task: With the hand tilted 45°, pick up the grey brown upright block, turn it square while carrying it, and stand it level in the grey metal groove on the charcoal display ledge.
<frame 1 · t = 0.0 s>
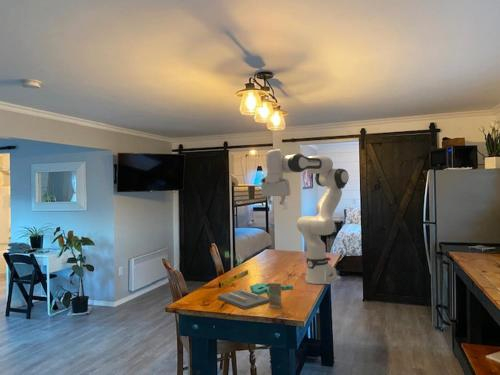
hand: (276, 204, 197), 48 cm above the table, tool pointing down, fingers open, 8 cm apart
spirit level: (234, 281, 225), on the table
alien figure: (268, 291, 201), on the table
grey brown upright block: (275, 305, 175), on the table
display ledge: (243, 300, 186), on the table
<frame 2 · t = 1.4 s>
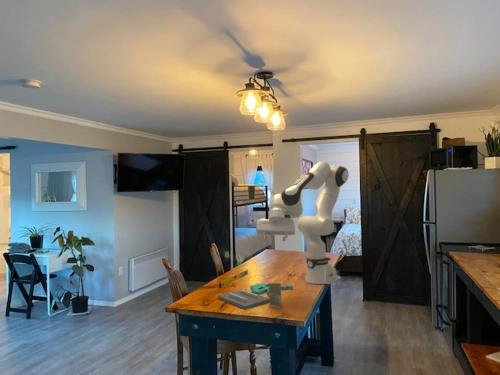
hand: (274, 240, 183), 30 cm above the table, tool tilted 45°, fingers open, 8 cm apart
nothing on the table moved.
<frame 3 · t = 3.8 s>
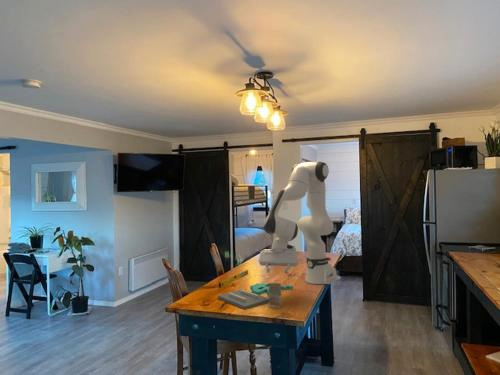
hand: (277, 272, 183), 14 cm above the table, tool tilted 45°, fingers open, 8 cm apart
nothing on the table moved.
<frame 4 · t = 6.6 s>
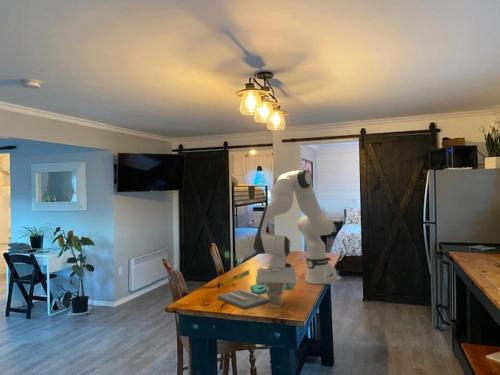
hand: (274, 292, 174), 6 cm above the table, tool tilted 45°, fingers closed on grey brown upright block, 5 cm apart
grey brown upright block: (275, 305, 175), on the table, touching gripper
everything else where it was.
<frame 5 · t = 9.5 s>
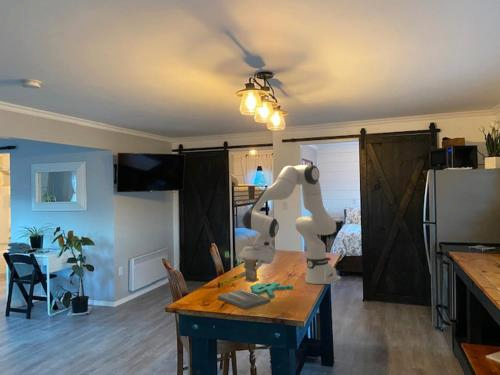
hand: (249, 268, 181), 17 cm above the table, tool tilted 45°, fingers closed on grey brown upright block, 5 cm apart
grey brown upright block: (251, 281, 182), point 11 cm above the table, touching gripper
everything else where it was.
when the fingers open (8 cm above the table, at t = 12.8 s): grey brown upright block stays where it is, resting on display ledge.
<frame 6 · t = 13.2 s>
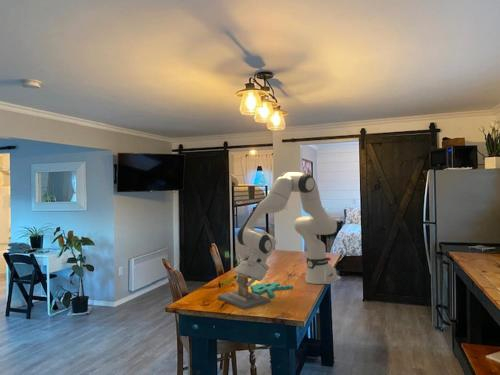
hand: (241, 284, 185), 8 cm above the table, tool tilted 45°, fingers open, 8 cm apart
grey brown upright block: (243, 297, 186), point 1 cm above the table, touching display ledge
everything else where it was.
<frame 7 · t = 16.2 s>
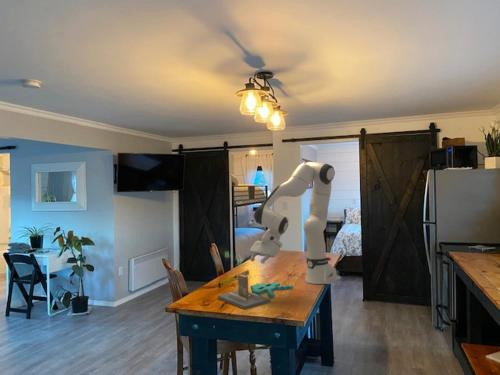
hand: (256, 261, 191), 18 cm above the table, tool tilted 45°, fingers open, 8 cm apart
nothing on the table moved.
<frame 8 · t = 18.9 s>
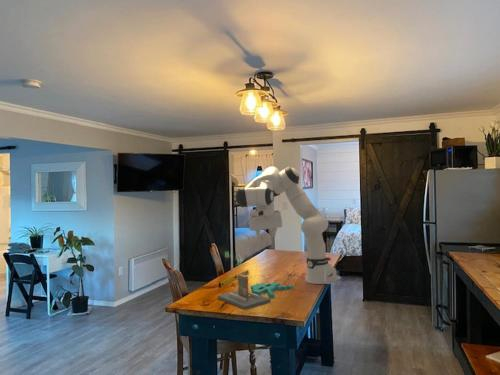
hand: (266, 237, 189), 31 cm above the table, tool pointing down, fingers open, 8 cm apart
nothing on the table moved.
at the end: grey brown upright block 0.1 cm off-centre on the display ledge, point 1.5 cm above the display ledge's base; grey brown upright block tilted 0°; the gripper is holding nothing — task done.
